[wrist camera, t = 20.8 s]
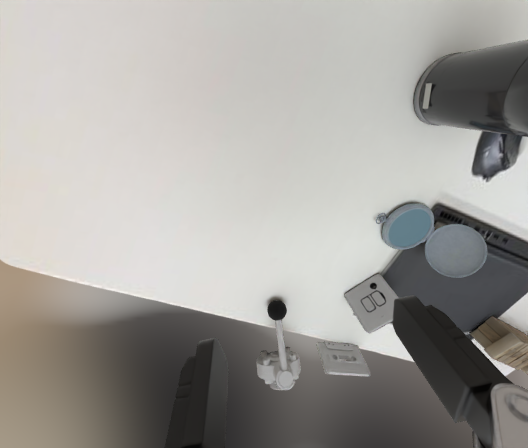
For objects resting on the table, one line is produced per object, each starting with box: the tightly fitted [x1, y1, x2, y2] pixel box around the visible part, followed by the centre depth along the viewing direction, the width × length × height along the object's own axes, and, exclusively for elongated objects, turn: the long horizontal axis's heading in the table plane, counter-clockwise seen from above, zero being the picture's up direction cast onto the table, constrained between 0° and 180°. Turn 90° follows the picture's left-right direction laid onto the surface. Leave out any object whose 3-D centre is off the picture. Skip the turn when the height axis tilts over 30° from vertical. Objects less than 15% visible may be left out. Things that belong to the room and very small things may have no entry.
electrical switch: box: [345, 274, 398, 333], centre depth 51 cm, size 9×5×9 cm, turn 130°
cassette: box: [316, 342, 371, 376], centre depth 60 cm, size 12×2×8 cm, turn 76°
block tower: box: [470, 316, 528, 374], centre depth 66 cm, size 8×8×29 cm
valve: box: [257, 301, 301, 390], centre depth 56 cm, size 10×20×15 cm
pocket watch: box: [376, 204, 487, 277], centre depth 43 cm, size 10×11×15 cm
